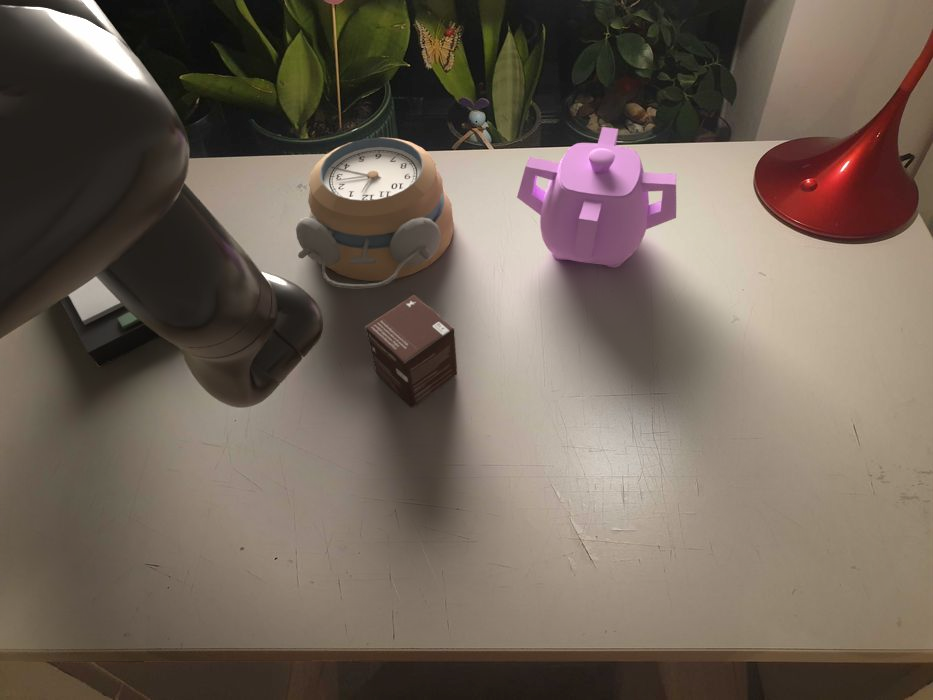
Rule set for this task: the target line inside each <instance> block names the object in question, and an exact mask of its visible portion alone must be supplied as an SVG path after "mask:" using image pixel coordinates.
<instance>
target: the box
mask: <svg viewBox="0 0 933 700" xmlns="http://www.w3.org/2000/svg"><path fill="white" fill-rule="evenodd" d="M364 328H365V331H366V334H367V339H368V343H369V347H370V352H371V356H372V361H373V364H374V370H375V373H376V375H377V376H378V377H380V379H381V380H382V381H383V382H384V383H385V384H386V385H387V386H388V387H389V388H390V389H391V390H392V391H393V392H394V393H395V395H397V396H399V397H400V398H401V400H403V401H404V402H405V403H406V404H407V405H408V406H409V407H410V408H415V407H417V406H418V405H419V404H420V403H422V402H423V401H424V400H426V399H427V398H428V397H429V396H431V395H432V394H434V393H435V392H436V391H437V390H439V389H441V387H443V386H444V385H446V384H447V383H449V382H450V381H451V380H453V379H454V378H455V377H456V376H458V366H457V365H458V364H457V351H456V349H457V348H456V336H455V328H454V327H453V326H452V325H451V324H450V323H448V322H447V321H446V320H445V319H443V317H441V316H440V315H439V314H438V313H437V312H436V310H435V309H433V308H432V307H430V306H428V305H427V304H426V303H424V302H423V301H422V300H421V299H420V298H419V297H417V296H416V295H415V294H413V295H411V296H409V297H408V298H406V299H405V300H403V301H402V302H400V303H398V304H397V305H396V306H394V307H393V308H391V309H390V310H388V311H387V312H385V313H384V314H382V315H381V316H379V317H377V318H376V319H374V320H373V321H371V322H370V323H369V324H367V325H365V327H364Z"/></svg>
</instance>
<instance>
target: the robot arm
mask: <svg viewBox="0 0 933 700" xmlns="http://www.w3.org/2000/svg"><path fill="white" fill-rule="evenodd" d="M190 146H191V145H190V142H189V138H188V134H187V130H186V128H185V127H184V124H183V122H182V120H181V118H180V116H179V114H178V113H177V110H176V109H175V108H174V106H173V104H172V102H170V100H169V99H168V97H167V96H166V94H165V93H164V91H163V89H162V88H161V86H159V84H158V83H157V81H156V80H155V79H154V77H153V76H152V74H151V73H150V72H149V71H148V69H147V68H146V66H145V65H144V64H143V63H142V61H141V59H140V58H139V57H138V56H137V55H136V54H135V53H134V51H132V49H131V47H130V46H129V45H128V43H127V42H126V41H125V39H124V38H123V37H122V36H121V33H119V31H118V30H117V29H116V28H115V26H114V25H113V24H112V22H111V21H110V19H109V18H108V17H107V15H106V14H105V13H104V11H103V10H102V9H101V7H100V6H99V5H98V3H97V2H96V1H95V0H0V340H1V339H2V338H4V337H5V336H7V335H9V334H11V333H12V332H14V331H15V330H16V329H18V328H20V327H21V326H23V325H24V324H26V323H27V322H29V321H31V320H32V319H34V318H36V317H37V316H39V315H40V314H42V313H43V312H45V311H47V310H48V309H50V308H51V307H52V306H54V305H56V304H57V303H60V302H61V301H60V300H62V299H63V298H65V297H66V296H68V295H69V294H71V293H72V292H74V291H75V290H77V289H78V288H80V287H81V286H83V285H85V284H86V283H87V282H89V281H90V280H92V279H93V278H94V277H97V278H98V279H99V280H100V281H101V282H102V284H103V285H104V286H105V287H106V288H107V289H108V290H109V291H110V292H111V293H112V294H113V295H114V296H115V297H116V298H117V299H118V300H119V301H120V302H121V303H122V304H123V305H124V306H125V307H126V308H127V309H128V310H129V311H130V312H131V313H132V314H133V315H134V316H135V317H136V318H137V319H139V320H140V321H141V322H142V323H143V324H145V325H146V326H147V327H149V328H150V329H151V330H153V331H154V332H155V333H157V334H158V335H159V336H158V337H161V338H163V340H166V341H167V342H169V343H170V344H172V345H174V346H176V347H177V348H179V349H180V351H181V354H182V356H183V359H184V361H185V363H186V365H187V368H188V370H189V371H190V373H191V374H192V376H193V378H194V379H195V380H196V382H197V383H198V384H199V385H200V387H202V389H203V390H205V392H206V393H208V394H209V395H210V396H211V397H212V398H214V399H215V400H217V401H218V402H220V403H222V404H224V405H227V406H229V407H234V408H239V409H242V408H244V409H245V408H251V407H254V406H256V405H259V404H261V403H262V402H264V401H265V400H266V399H267V398H269V397H270V396H271V395H272V394H273V393H274V392H275V390H276V389H277V388H278V387H279V386H280V385H281V384H282V383H283V382H284V380H285V379H286V378H287V377H288V376H289V375H290V374H291V373H292V372H293V370H294V369H295V368H296V367H297V366H298V365H299V364H300V363H301V362H302V361H303V358H305V357H306V356H307V355H308V354H309V353H310V352H311V351H312V350H313V349H314V348H315V346H316V345H317V344H318V342H319V341H320V339H321V338H322V335H323V333H324V327H325V326H324V317H323V314H322V311H321V308H320V307H319V305H318V303H317V301H316V300H315V299H314V298H313V297H312V296H311V295H310V293H308V292H307V291H306V290H305V289H303V288H302V287H300V286H299V285H298V284H296V283H295V282H292V281H290V280H288V279H286V278H284V277H281V276H278V275H276V274H273V273H270V272H267V271H264V270H260V269H259V267H258V266H257V264H256V263H255V262H254V260H253V259H252V257H250V255H249V254H248V253H247V252H246V250H245V249H243V247H242V246H241V245H240V244H239V242H238V241H237V240H236V239H235V238H234V237H233V235H232V234H230V232H229V231H228V230H227V228H225V227H224V225H223V224H222V223H221V222H220V221H219V220H218V219H217V217H215V215H213V213H212V212H211V211H210V210H209V209H208V208H207V207H206V206H205V204H204V203H203V202H202V201H201V200H200V199H199V197H198V196H197V195H196V194H195V193H194V192H193V191H192V190H191V188H189V185H187V184H186V183H185V182H186V180H187V177H188V173H189V170H190V153H191V152H190V150H191V148H190Z"/></svg>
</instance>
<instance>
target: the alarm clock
mask: <svg viewBox="0 0 933 700" xmlns="http://www.w3.org/2000/svg"><path fill="white" fill-rule="evenodd" d="M308 186H309V189H308V190H309V191H308V198H307V199H308V200H307V202H308V205H309V208H310V212H309V216H306V217H302V218H300V220H299V221H298V223H297V225H296V227H295V233H296V234H295V235H296V240H297V241H298V244H299V245H300V247H301V249H302V250H301V251H299V252H298V258H299V259H304V258H306V257H309V258H310V259H311V260H313V261H314V262H315V263H317V264H319V265H321V276H322V277H323V279H324V280H325V281H326V283H327V284H330V285H332V286H334V287H337V288H345V289H355V290H356V289H371V288H380V287H382V286H383V287H384V286H385V285H388V284H390V283H391V282H393V280H397V279H400V278H405V277H408V276H411V275H414V274H415V273H417V272H420V271H422V270H424V269H425V268H428V267H430V266H431V265H432V264H433V263H435V261H438V259H439V258H440V257H441V256H442V255H443V254H444V252H445V251H446V250H447V248H448V247H449V245H450V244H451V240H452V238H453V234H454V232H455V230H454V229H455V228H454V217H453V216H454V215H453V206H452V203H451V201H450V198H449V196H448V195H447V192H446V191H445V190H444V187H443V186H444V183H443V178H442V176H441V174H440V172H439V170H438V168H437V165H436V162H435V161H434V158H433V157H432V155H431V154H430V153H429V152H428V151H426V150H425V149H424V148H423V147H421V146H419V145H417V144H416V143H413V142H411V141H407V140H404V139H400V138H393V137H371V138H370V137H369V138H363V139H359V140H355V141H351V142H348V143H346V144H343V145H341V146H339V147H336V148H334V149H333V150H331V151H329V152H327V154H325V155H324V156H323V157H322V158H321V159H320V160H319V161H318V162H317V163H316V164H315V166H313V169H312V171H311V173H310V174H309V183H308ZM326 267H327V268H328V269H330V270H331V271H333V272H334V273H336V274H338V275H340V276H343V277H347V278H349V279H352V280H357V281H366V282H371V283H358V284H356V283H345V282H337V281H335V280H333V279H332V278H331V279H330V278H329V276H328V275H327V274H326ZM372 282H373V283H372Z"/></svg>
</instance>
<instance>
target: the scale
mask: <svg viewBox="0 0 933 700" xmlns="http://www.w3.org/2000/svg"><path fill="white" fill-rule="evenodd" d="M59 302H60V303H61V305H62V307H63V309H64V311H65V312H66V314H67V316H68V318H69V320H70V322H71V324H72V325H73V328H74V330H75V331H76V334H77V335H78V337H79V339H80V341H81V343H82V345H83V347H84V348H85V350H86V353H87V354H88V355H89V357H91V359H92V360H93V362H94V363H95V364H96V366H97V367H98V368H100V367H102V366H104V365H106V364H108V363H110V362H112V361H114V360H116V359H118V358H120V357H122V356H124V355H126V354H127V353H129V352H131V351H133V350H135V349H137V348H139V347H141V346H143V345H145V344H146V343H147V344H148V342H151V341H153V340H154V339H156V338H159V337H160V336H159V335H158V334H157V333H155V332H154V331H153V330H151V329H150V328H149V327H147V326H146V325H145V324H143V323H142V322H141V321H140V320H139V319H137V318H136V317H135V316H134V315H133V314H132V313H131V312H130V311H129V310H128V309H127V308H126V307H125V306H124V305H123V304H122V303H121V302H120V301H119V300H118V299H117V298H116V297H115V296H114V295H113V294H112V293H111V292H110V291H109V290H108V289H107V288H106V287H105V286H104V285H103V284H102V282H101V281H100V280H99V279H98V278H97V277H94V278H93V279H92V280H90V281H89V282H87V283H86V284H85V285H83V286H81V287H80V288H78V289H77V290H75V291H74V292H72V293H71V294H69V295H68V296H66V297H65V298H63V299H62V300H60V301H59Z"/></svg>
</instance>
